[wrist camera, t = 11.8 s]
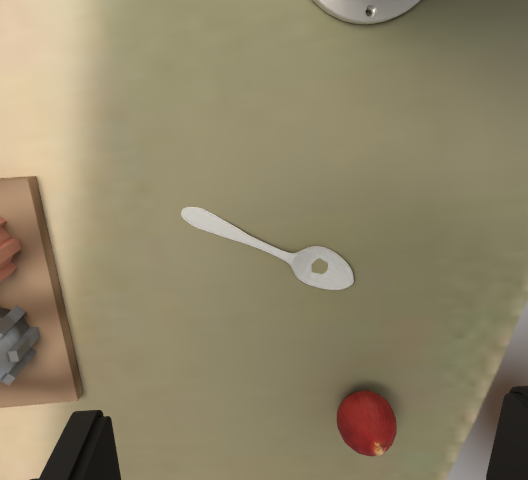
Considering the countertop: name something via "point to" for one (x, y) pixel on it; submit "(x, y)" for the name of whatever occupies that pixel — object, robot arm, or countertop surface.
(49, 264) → the gear board
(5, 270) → the pink gear
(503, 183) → the countertop surface
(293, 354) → the countertop surface
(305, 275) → the spoon
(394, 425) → the onion
